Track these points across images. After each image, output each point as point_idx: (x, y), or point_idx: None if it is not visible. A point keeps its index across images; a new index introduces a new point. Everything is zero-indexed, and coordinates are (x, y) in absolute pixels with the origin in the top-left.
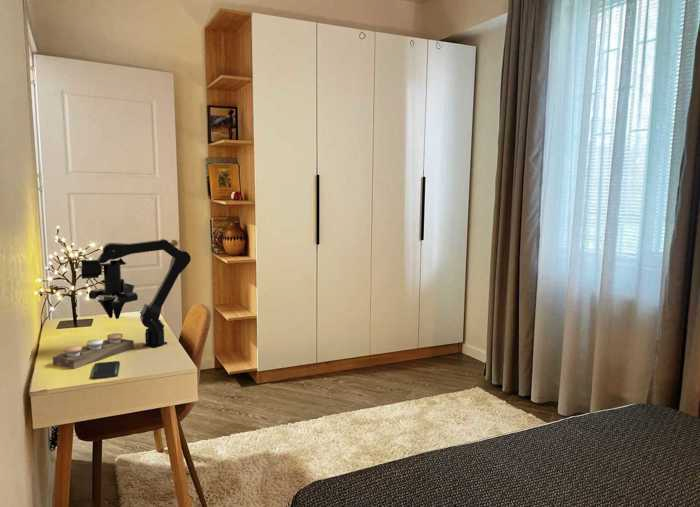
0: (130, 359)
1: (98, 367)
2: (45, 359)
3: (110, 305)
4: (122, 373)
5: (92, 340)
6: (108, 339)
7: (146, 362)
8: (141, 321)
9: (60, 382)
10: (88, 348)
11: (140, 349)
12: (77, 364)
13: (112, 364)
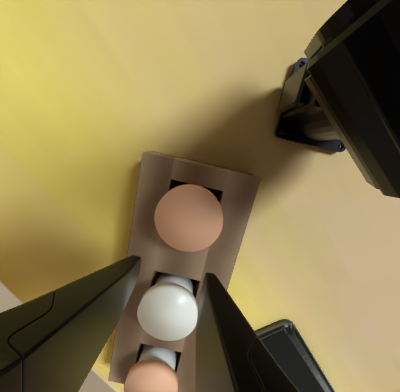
0: (305, 286)
1: None
2: None
3: (41, 384)
4: (340, 382)
5: (148, 308)
6: (141, 185)
7: (371, 302)
8: (327, 116)
9: None
10: None
11: (285, 182)
12: None
13: (285, 346)
